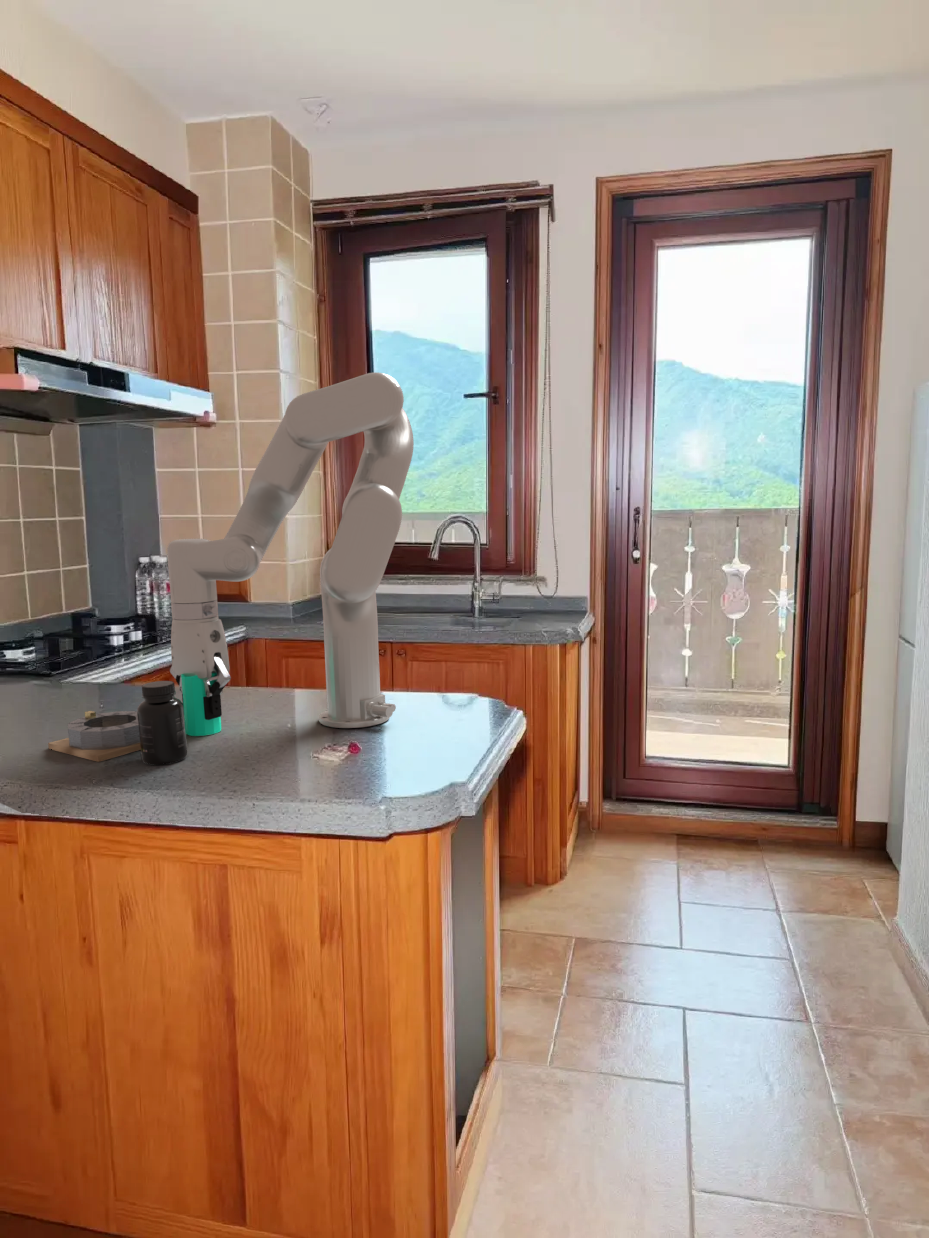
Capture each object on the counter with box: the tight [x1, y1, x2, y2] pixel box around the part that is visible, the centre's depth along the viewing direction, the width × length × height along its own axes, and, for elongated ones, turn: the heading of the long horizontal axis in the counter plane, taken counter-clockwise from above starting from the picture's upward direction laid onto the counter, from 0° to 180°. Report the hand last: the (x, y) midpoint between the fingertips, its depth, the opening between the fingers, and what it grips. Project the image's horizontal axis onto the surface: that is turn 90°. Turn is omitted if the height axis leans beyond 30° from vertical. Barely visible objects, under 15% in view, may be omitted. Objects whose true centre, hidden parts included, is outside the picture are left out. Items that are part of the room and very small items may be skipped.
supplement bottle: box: [136, 680, 188, 766], centre depth 136 cm, size 7×7×12 cm
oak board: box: [47, 737, 141, 763], centre depth 145 cm, size 14×14×1 cm
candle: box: [181, 673, 222, 737], centre depth 151 cm, size 6×6×12 cm
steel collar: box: [67, 710, 140, 750], centre depth 145 cm, size 13×13×4 cm
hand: (202, 714), depth 152 cm, fingers closed on candle, 4 cm apart
